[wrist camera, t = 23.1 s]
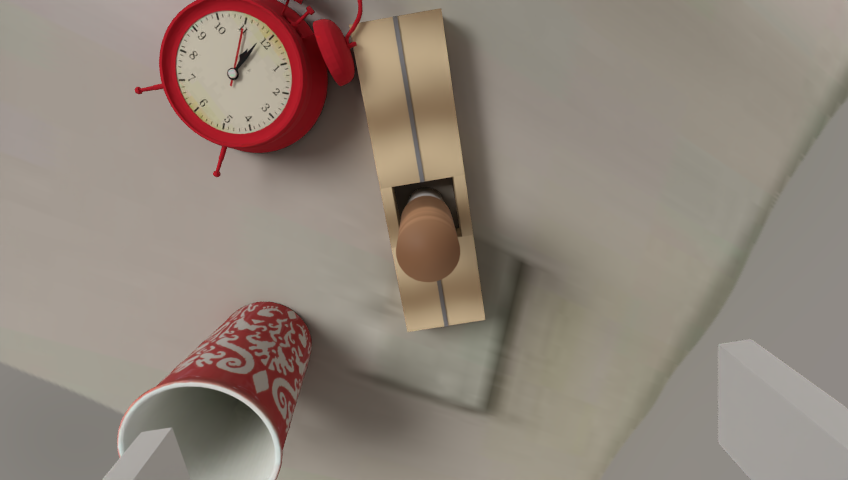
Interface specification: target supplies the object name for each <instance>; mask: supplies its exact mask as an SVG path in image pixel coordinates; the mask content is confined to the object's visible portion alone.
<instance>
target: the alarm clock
mask: <svg viewBox="0 0 848 480" xmlns="http://www.w3.org/2000/svg"><path fill="white" fill-rule="evenodd" d="M289 1H290V0H287V2H286V4H285V5H284V4H283V3H281V2H279V1H277V0H196V1H194V2H193V3H191V4H189V5H188V6H186V7H185V8H184V9H183V10H181V11H180V12H179V13H178V14H177V16H176V17H175V18H174V19H173V20H172V22H171V23H170V25H169V27H168V28H167V30H166V33H165V35H164V38H163V41H162V44H161V49H160V58H159V67H160V76H161V81H162V84H158V85H153V86H151V87H146V88H142V89H141V88H140V87H136V88H135V92H136V93H137V94H142V92H144V91H150V90H158V89H164V91H165V94H166V96H167V99H168V101H169V103H170V104H171V106H172V108H173V109H174V111H175V112H176V114H177V115H178V116H179V118H180V119H181V120H182V121H183V122H184V123H185V124H186V125H187V126H188V127H189V128H190V129H192V130H193V131H194V132H195V133H197V134H198V135H200V136H201V137H203V138H205V139H207V140H209V141H211V142H213V143H215V144H218V145H221V146H222V149H221V152H220V156H219V161H218V165H217V168H216V171H214V173H213V175H214V176H215V177H219V176H220V172H219V170H220V167H221V164H222V161H223V159H224V156H225V153H226V149H227V147H229V148H234V149H237V150H240V151H245V152H253V153H264V152H271V151H276V150H279V149H282V148H285V147H287V146H289V145H291V144H293V143H295V142H296V141H298V140H299V139H301V138H302V137H303V136H304V135H305V134H306V133H307V132H308V131H309V130H310V129H311V128H312V127H313V125H314V124H315V122H316V121H317V119H318V117H319V116H320V114H321V111H322V109H323V106H324V103H325V99H326V94H327V85H328V76H327V67H328V69H329V71H330V73H331V75H332V77H333V78H334V80H335V81H336V83H337V84H338V85H339V86H343V85H346V84H347V83H349V82H351V80H352V79H353V78H354V73H355V66H354V61H353V57H352V54H351V50H350V49H351V48H353V47H355V46H357V43H356V42H355V41H354V42H351V43H349V37H350V35H351V34H352V33H353V32H354V30H355V29H356V27H357V25H358V23H359V21H360V19H361V16H362V0H358V14H357V18H356V20H355V22H354V24H353V26H352V27H351V29H350V30H349V32H348V33H347V35H346V36H345V37H344V35H343V33H342V32H341V30H340V29H339V27H338V26H337V25H336V24H335V23H334V22H332V21H331V20H328V19H321V20H317V21H314V22H313V29H314V33H313V31H312V30H311V28H310V27H309V25H308V24H307V23H306V22H305V21H304V19H305V18H306V17H307V16H308V15H309V14H311V15H312V14H313V13H314V10H313V9H312V8H311V7H310V6H308V7H307V8H306V9H307V12H306V13H305V14H304V15H303V16H302V17H300V16H299V15H298V14H297V13H296V12H295V11H294V10H292V9H291V8H289V7H288V3H289ZM294 1H296V2H298V3H299V4H302V1H303V0H294ZM326 65H327V67H326Z"/></svg>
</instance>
